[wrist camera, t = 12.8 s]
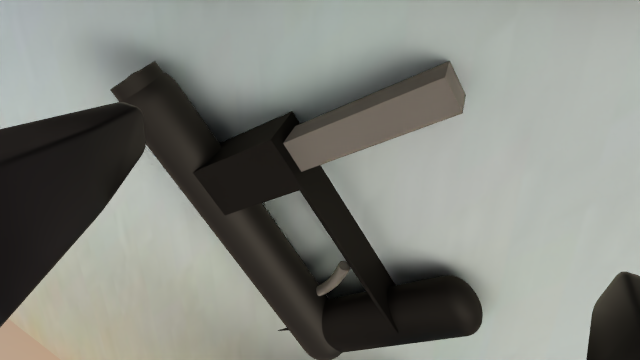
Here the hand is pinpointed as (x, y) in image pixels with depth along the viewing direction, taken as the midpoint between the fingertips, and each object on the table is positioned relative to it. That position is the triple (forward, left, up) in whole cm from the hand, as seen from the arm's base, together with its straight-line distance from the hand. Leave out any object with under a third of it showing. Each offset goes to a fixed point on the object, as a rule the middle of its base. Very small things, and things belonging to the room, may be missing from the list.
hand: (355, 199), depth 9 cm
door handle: (+3, +11, -13) cm, 17 cm away
